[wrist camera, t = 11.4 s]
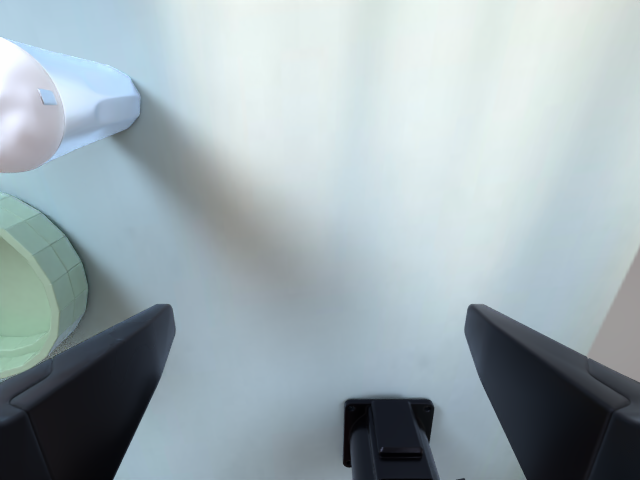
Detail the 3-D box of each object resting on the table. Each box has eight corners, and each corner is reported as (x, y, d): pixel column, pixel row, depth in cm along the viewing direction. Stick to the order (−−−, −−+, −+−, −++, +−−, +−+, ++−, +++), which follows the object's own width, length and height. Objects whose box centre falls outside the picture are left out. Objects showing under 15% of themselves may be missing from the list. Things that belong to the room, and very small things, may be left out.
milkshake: (178, 135, 21) (69, 174, 12) (84, 146, 22) (-94, 192, 12) (156, 44, 20) (9, 7, 10) (54, 57, 20) (-179, 32, 11)
